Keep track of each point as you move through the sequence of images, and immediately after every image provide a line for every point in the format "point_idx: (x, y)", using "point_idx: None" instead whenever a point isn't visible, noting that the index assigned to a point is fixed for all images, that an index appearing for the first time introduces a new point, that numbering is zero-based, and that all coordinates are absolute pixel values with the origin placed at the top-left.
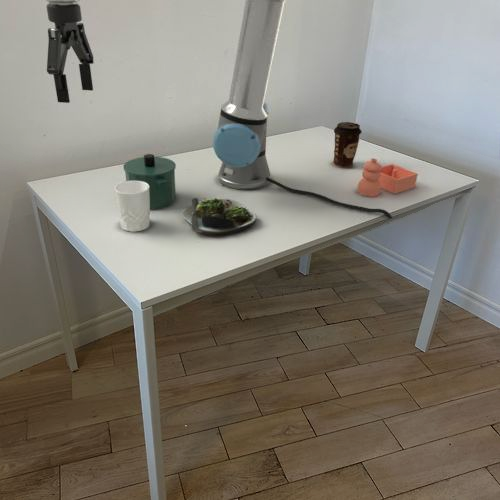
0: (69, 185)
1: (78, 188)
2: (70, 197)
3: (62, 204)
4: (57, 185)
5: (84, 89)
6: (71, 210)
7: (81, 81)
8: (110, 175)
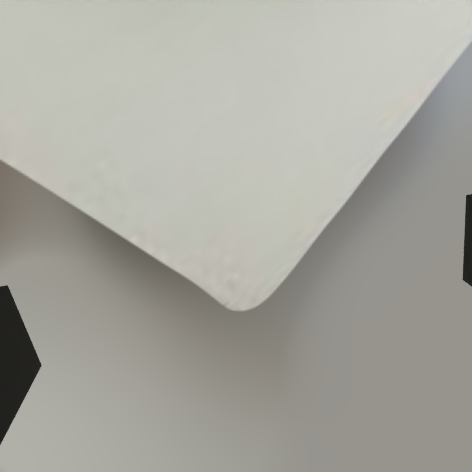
0: (228, 208)
1: (238, 169)
2: (305, 150)
3: (356, 140)
4: (242, 239)
5: (32, 350)
6: (386, 89)
7: (9, 420)
8: (96, 137)
